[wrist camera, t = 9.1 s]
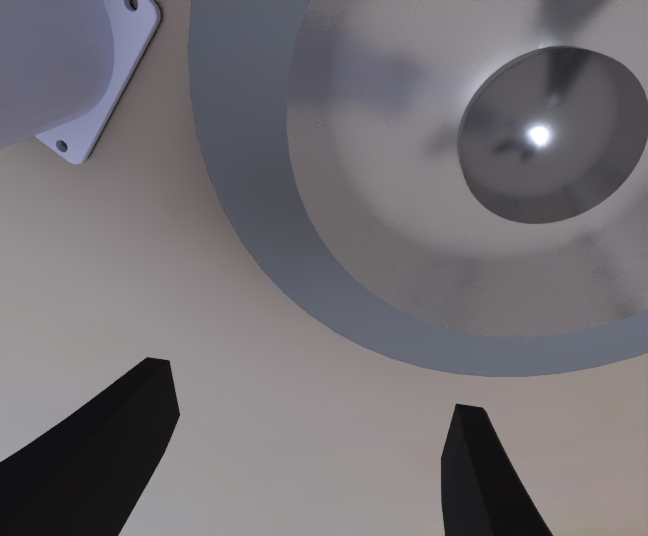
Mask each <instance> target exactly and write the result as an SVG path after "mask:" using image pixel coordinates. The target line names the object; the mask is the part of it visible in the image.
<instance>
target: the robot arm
mask: <svg viewBox="0 0 648 536" xmlns="http://www.w3.org/2000/svg"><path fill="white" fill-rule="evenodd" d="M137 1H138V9H137V10H134V9H133V8H132V7H131V5H130V0H0V149H2V148H4V147H7V146H9V145H12V144H15V143H17V142H20V141H22V140H25V139H27V138H30V137H32V136H35V137H36V138H37V139H39V140H40V141H41V142H43V143H44V144H45V145H47V146H48V147H49V148H51V149H52V150H53V151H55V152H56V153H57V154H59V155H60V156H61V157H63V158H64V159H66V160H67V161H68V162H70V163H72V164H76V165H78V164H81V163H83V162H85V161H86V160H87V158H88V156H89V154H90V152H91V150H92V149H93V147H94V145H95V143H96V141H97V139H98V137H99V135H100V134H101V132H102V130H103V128H104V126H105V124H106V122H107V120H108V119H109V117H110V115H111V113H112V111H113V109H114V107H115V105H116V103H117V102H118V100H119V98H120V96H121V94H122V92H123V90H124V88H125V87H126V85H127V83H128V81H129V79H130V77H131V75H132V73H133V72H134V70H135V68H136V66H137V64H138V62H139V60H140V58H141V56H142V55H143V53H144V51H145V49H146V47H147V45H148V43H149V41H150V40H151V38H152V36H153V34H154V32H155V30H156V28H157V26H158V25H159V22H160V19H161V15H160V10H159V8H158V5H157V4H156V3H155V2H154V1H153V0H137ZM62 141H64V142H65V143H66V145H67V147H68V149H66V148H65V147H64V146H63V144H62ZM179 416H180V413H179V407H178V402H177V397H176V392H175V387H174V382H173V377H172V371H171V366H170V361H169V360H163V359H156V358H149V357H147V358H146V359H144V360H143V361H141V362H140V363H139V364H137V365H136V366H135V367H133V368H132V369H131V370H130V371H128V372H127V373H126V374H124V375H123V376H122V377H120V378H119V379H118V380H116V381H115V382H114V383H113V384H111V385H110V386H109V387H107V388H106V389H105V390H103V391H102V392H101V393H99V394H98V395H97V396H96V397H94V398H93V399H91V400H90V401H89V402H87V403H86V404H85V405H83V406H82V407H81V408H79V409H78V410H77V411H75V412H74V413H73V414H71V415H70V416H69V417H67V418H66V419H64V420H63V421H61V422H60V423H59V424H57V425H56V426H54V427H53V428H51V429H50V430H48V431H47V432H46V433H44V434H43V435H41V436H40V437H38V438H37V439H35V440H34V441H32V442H31V443H30V444H28V445H27V446H25V447H24V448H22V449H21V450H19V451H17V452H16V453H14V454H13V455H11V456H10V457H8V458H6V459H5V460H3V461H2V462H0V536H118V535H119V533H120V532H121V530H122V528H123V526H124V524H125V523H126V521H127V519H128V517H129V516H130V514H131V512H132V510H133V508H134V507H135V505H136V503H137V501H138V500H139V498H140V496H141V494H142V492H143V491H144V489H145V487H146V485H147V484H148V482H149V480H150V478H151V476H152V475H153V473H154V471H155V469H156V467H157V466H158V464H159V462H160V460H161V458H162V456H163V455H164V453H165V450H166V448H167V446H168V443H169V441H170V439H171V436H172V434H173V431H174V429H175V426H176V424H177V421H178V419H179ZM441 502H442V512H443V521H444V529H445V536H553V535H552V533H551V532H550V530H549V528H548V527H547V525H546V524H545V522H544V520H543V519H542V517H541V515H540V514H539V512H538V510H537V509H536V507H535V505H534V503H533V502H532V500H531V498H530V496H529V495H528V493H527V491H526V489H525V488H524V486H523V484H522V482H521V481H520V479H519V477H518V475H517V473H516V471H515V470H514V468H513V466H512V464H511V462H510V460H509V458H508V456H507V454H506V452H505V450H504V448H503V446H502V444H501V442H500V440H499V438H498V436H497V434H496V432H495V430H494V428H493V426H492V424H491V421H490V419H489V417H488V415H487V412H486V411H485V410H484V409H483V408H482V407H475V406H468V405H462V404H456V406H455V410H454V413H453V417H452V421H451V424H450V428H449V431H448V435H447V439H446V442H445V446H444V449H443V453H442V457H441Z"/></svg>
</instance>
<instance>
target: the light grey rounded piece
mask: <svg viewBox="0 0 648 536" xmlns="http://www.w3.org/2000/svg"><path fill="white" fill-rule="evenodd" d="M286 129H287V137H288V146H289V155H290V161H291V165H292V169H293V173H294V178H295V182H296V186H297V189H298V192H299V194H300V197H301V199H302V202H303V205H304V207H305V210H306V212H307V215H308V217H309V218H310V220H311V222H312V224H313V226H314V227H315V229H316V231H317V233H318V235H319V237H320V238H321V240H322V241H323V242H324V244H325V245H326V247H327V248H328V249H329V251H330V252H331V253H332V255H333V256H334V258H335V259H336V260H337V261H338V262H339V263H340V264H341V265H342V266H343V267H344V269H345V270H346V271H347V272H348V273H349V274H350V275H351V276H352V277H353V278H354V279H355V280H357V281H358V282H359V283H360V284H361V285H363V286H364V287H365V288H366V289H367V290H369V291H370V292H371V293H372V294H374V295H375V296H377V297H378V298H380V299H382V300H383V301H385V302H386V303H388V304H389V305H391V306H392V307H394V308H396V309H398V310H400V311H402V312H404V313H406V314H408V315H411V316H413V317H415V318H417V319H420V320H422V321H425V322H428V323H431V324H434V325H436V326H439V327H443V328H447V329H451V330H455V331H459V332H463V333H469V334H476V335H484V336H491V337H514V338H523V337H540V336H552V335H558V334H565V333H572V332H578V331H582V330H586V329H590V328H594V327H599V326H603V325H607V324H610V323H613V322H616V321H619V320H622V319H625V318H628V317H630V316H633V315H636V314H639V313H641V312H644V311H646V310H648V0H310V2H309V5H308V7H307V10H306V12H305V15H304V17H303V20H302V22H301V26H300V30H299V34H298V38H297V41H296V45H295V49H294V53H293V57H292V61H291V68H290V76H289V83H288V91H287V128H286Z"/></svg>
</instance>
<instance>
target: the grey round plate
mask: <svg viewBox="0 0 648 536" xmlns="http://www.w3.org/2000/svg"><path fill="white" fill-rule="evenodd" d="M309 2H310V0H192V2H191V17H190V31H189V46H188V49H189V70H190V91H191V99H192V105H193V111H194V117H195V123H196V129H197V135H198V139H199V143H200V146H201V150H202V153H203V157H204V160H205V163H206V167H207V170H208V174H209V177H210V179H211V181H212V184H213V186H214V189H215V191H216V193H217V196H218V198H219V200H220V203H221V205H222V207H223V210H224V212H225V214H226V215H227V217H228V219H229V221H230V222H231V224H232V226H233V228H234V229H235V231H236V233H237V235H238V236H239V238H240V240H241V242H242V243H243V244H244V246H245V247H246V248H247V250H248V251H249V252H250V254H251V255H252V256H253V258H254V259H255V261H256V262H257V263H258V265H259V266H260V267H261V269H262V270H263V271H264V272H265V273H266V274H267V275H268V276H269V277H270V278H271V280H272V281H273V282H274V283H275V284H276V285H277V286H278V287H279V288H280V289H281V290H282V291H283V292H284V293H285V294H286V295H287V296H288V297H289V298H290V299H292V300H293V301H294V302H295V303H296V304H297V305H299V306H300V307H301V308H302V309H303V310H305V311H306V312H307V313H308V314H309V315H311V316H312V317H314V318H315V319H317V320H318V321H320V322H321V323H323V324H324V325H326V326H327V327H328V328H330V329H331V330H333V331H334V332H336V333H338V334H340V335H342V336H344V337H345V338H347V339H349V340H351V341H353V342H355V343H357V344H359V345H361V346H362V347H365V348H367V349H370V350H372V351H375V352H377V353H380V354H382V355H385V356H387V357H389V358H392V359H395V360H399V361H402V362H406V363H409V364H412V365H416V366H419V367H423V368H428V369H433V370H438V371H444V372H449V373H455V374H464V375H475V376H486V377H527V376H538V375H549V374H560V373H566V372H572V371H577V370H583V369H588V368H594V367H599V366H603V365H607V364H610V363H614V362H618V361H621V360H625V359H629V358H633V357H636V356H639V355H642V354H645V353H648V310H646V311H644V312H641V313H639V314H636V315H633V316H630V317H628V318H625V319H622V320H619V321H616V322H613V323H610V324H607V325H603V326H599V327H594V328H590V329H586V330H582V331H578V332H572V333H565V334H558V335H552V336H540V337H523V338H514V337H491V336H484V335H476V334H469V333H463V332H459V331H455V330H451V329H447V328H443V327H439V326H436V325H434V324H431V323H428V322H425V321H422V320H420V319H417V318H415V317H413V316H411V315H408V314H406V313H404V312H402V311H400V310H398V309H396V308H394V307H392V306H391V305H389V304H388V303H386V302H385V301H383V300H382V299H380V298H378V297H377V296H375V295H374V294H372V293H371V292H370V291H369V290H367V289H366V288H365V287H364V286H363V285H361V284H360V283H359V282H358V281H357V280H355V279H354V278H353V277H352V276H351V275H350V274H349V273H348V272H347V271H346V270H345V269H344V267H343V266H342V265H341V264H340V263H339V262H338V261H337V260H336V259H335V258H334V256H333V255H332V253H331V252H330V251H329V249H328V248H327V247H326V245H325V244H324V242H323V241H322V240H321V238H320V237H319V235H318V233H317V231H316V229H315V227H314V226H313V224H312V222H311V220H310V218H309V217H308V215H307V212H306V210H305V207H304V205H303V202H302V199H301V197H300V194H299V192H298V189H297V186H296V182H295V178H294V173H293V169H292V165H291V161H290V155H289V146H288V137H287V129H286V128H287V91H288V83H289V76H290V68H291V61H292V57H293V53H294V49H295V45H296V41H297V38H298V34H299V30H300V26H301V22H302V20H303V17H304V15H305V12H306V10H307V7H308V5H309Z"/></svg>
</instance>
